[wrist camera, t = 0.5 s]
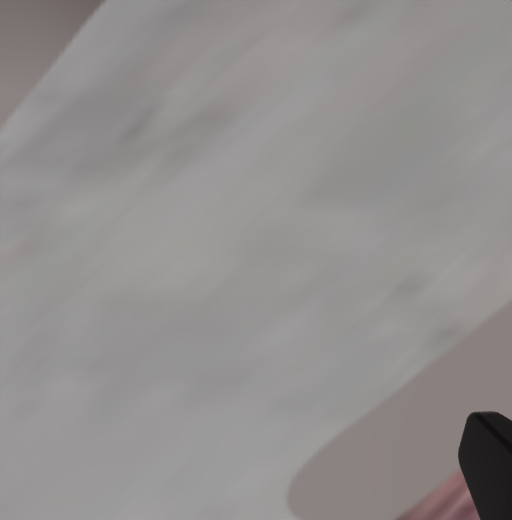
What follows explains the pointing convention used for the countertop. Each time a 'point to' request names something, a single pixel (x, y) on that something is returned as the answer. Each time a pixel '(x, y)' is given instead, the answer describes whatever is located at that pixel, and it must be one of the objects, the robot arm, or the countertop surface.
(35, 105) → the countertop surface
